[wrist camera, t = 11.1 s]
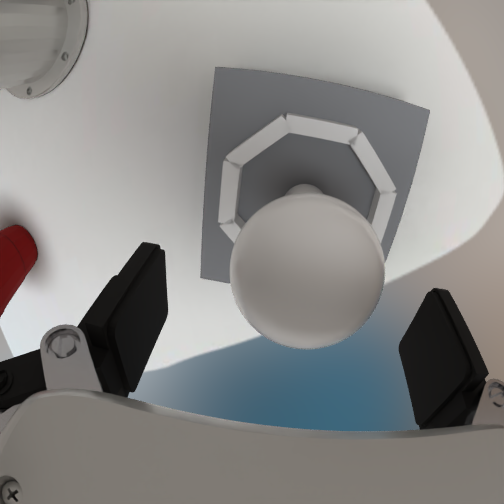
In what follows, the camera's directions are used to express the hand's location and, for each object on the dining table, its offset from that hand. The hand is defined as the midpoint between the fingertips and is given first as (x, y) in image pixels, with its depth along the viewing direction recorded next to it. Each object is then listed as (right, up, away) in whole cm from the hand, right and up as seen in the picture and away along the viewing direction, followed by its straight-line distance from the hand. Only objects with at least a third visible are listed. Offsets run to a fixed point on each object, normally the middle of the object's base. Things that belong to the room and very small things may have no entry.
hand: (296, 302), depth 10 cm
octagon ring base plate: (+2, +6, +14) cm, 16 cm away
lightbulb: (+2, +5, +9) cm, 11 cm away
